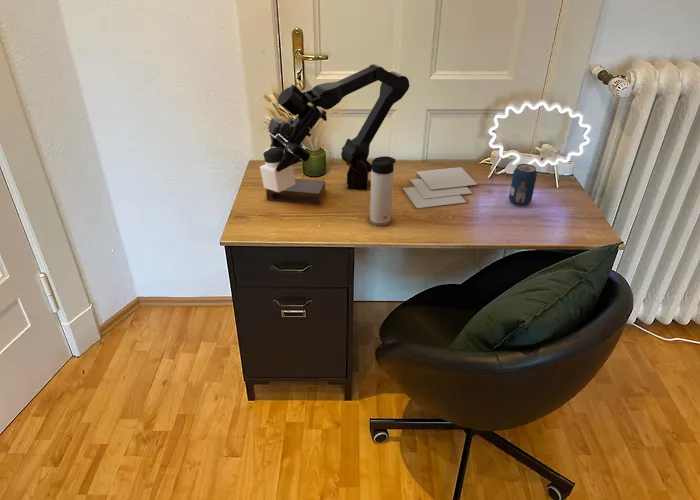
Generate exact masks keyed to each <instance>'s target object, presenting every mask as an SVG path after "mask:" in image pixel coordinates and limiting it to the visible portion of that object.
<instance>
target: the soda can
mask: <svg viewBox="0 0 700 500" xmlns="http://www.w3.org/2000/svg"><path fill="white" fill-rule="evenodd" d="M537 177H538V173H537V167H536V166H534V164H533V165H532V164H531V163H530V164H529V163H519V164H517V165H516V167H515V168H514V169H513V173H512V179H511V184H510V189H509V193H508V199H509V202H510V204H511V205H513V206H516V207H519V208H521V207H526V206H528V205H530V204H531V202H532V199H533V194H534V190H535V187H536V181H537Z"/></svg>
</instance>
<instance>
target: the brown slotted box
mask: <svg viewBox="0 0 700 500" xmlns="http://www.w3.org/2000/svg"><path fill="white" fill-rule="evenodd" d="M295 183H296V184H295V185H293V186H291V187H289V188H287V189H285V190H283V191H281V192H276V191H272V190H269V189H266V188H265V192H266V201H268V202H280V203H290V204H291V203H292V204H293V203H294V204H304V205H316V206H317V205H318V206H320V205H321V203H322V200H323V198H324V196H325V194H326V181H325V180H319V179H318V180H317V179H305V178H295Z"/></svg>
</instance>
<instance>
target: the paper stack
mask: <svg viewBox="0 0 700 500" xmlns="http://www.w3.org/2000/svg"><path fill="white" fill-rule="evenodd" d="M416 173H417V175H418V176H419V177H420V178H414V179H413V178H412V179H410V180H409V181H410V182H411V183H412V185H413V186H408V187H402V190H403V191H404V192H405V194H406V195H407V197H408V199H410V201H411V202H412V204H413V205H414V207H415V208H416V209H420V208H421V209H422V208H429V207H431V208H432V207H438V206H447V205H454V204H463V203H467V201H466V200H465V198H463V196H462V195H467V194H468V195H469V194H473V191H471V189H470V188H469V187H468V186H476V185H479V183H477V182H476V181H475V180H474V178H472V177H471V176H470V174H468V173H467V172H466V170H465V169H464V168H463V167H462V166H458V167H449V168H439V169H429V170H420V171H416Z"/></svg>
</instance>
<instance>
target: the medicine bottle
mask: <svg viewBox="0 0 700 500" xmlns="http://www.w3.org/2000/svg"><path fill="white" fill-rule="evenodd" d="M283 156H284V150H283V149H282V148H280V147H271V148H270V147H268V148H266V149H265V150H264V151H263V159H264V163H265V164H262V165H261V166H259V169H260V170H259V171H260V175H261V179H262V184H263V188H264V189H265V190H266V189H269V190H272V191H276V192H281V191H283V190H285V189H287V188H289V187H291V186H293V185H295V184H296V183H295V179H296V177H295V172H294V171H295V170H294V164H293V165H291V166H289V167H287V168H285V169H283V170H281V171H279V172H277V171H276V168H277V166H278V164H279V162H280V161H281V159H282V158H283Z"/></svg>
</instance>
